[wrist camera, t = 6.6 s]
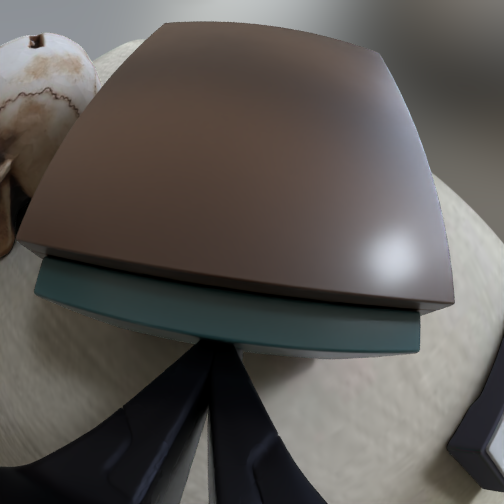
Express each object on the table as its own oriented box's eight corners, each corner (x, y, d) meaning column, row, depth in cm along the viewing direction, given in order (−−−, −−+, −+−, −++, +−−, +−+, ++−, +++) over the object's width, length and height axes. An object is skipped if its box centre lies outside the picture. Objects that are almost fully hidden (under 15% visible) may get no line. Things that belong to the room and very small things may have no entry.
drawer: (328, 381, 12) (417, 394, 6) (116, 349, 12) (23, 333, 5) (333, 163, 17) (373, 79, 11) (175, 141, 17) (160, 50, 10)
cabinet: (337, 338, 14) (455, 304, 6) (120, 306, 14) (14, 239, 5) (335, 150, 19) (379, 52, 11) (178, 128, 19) (164, 22, 10)
